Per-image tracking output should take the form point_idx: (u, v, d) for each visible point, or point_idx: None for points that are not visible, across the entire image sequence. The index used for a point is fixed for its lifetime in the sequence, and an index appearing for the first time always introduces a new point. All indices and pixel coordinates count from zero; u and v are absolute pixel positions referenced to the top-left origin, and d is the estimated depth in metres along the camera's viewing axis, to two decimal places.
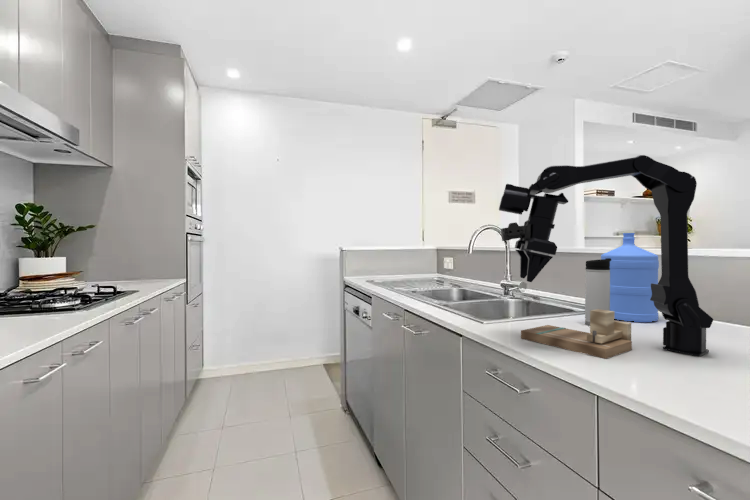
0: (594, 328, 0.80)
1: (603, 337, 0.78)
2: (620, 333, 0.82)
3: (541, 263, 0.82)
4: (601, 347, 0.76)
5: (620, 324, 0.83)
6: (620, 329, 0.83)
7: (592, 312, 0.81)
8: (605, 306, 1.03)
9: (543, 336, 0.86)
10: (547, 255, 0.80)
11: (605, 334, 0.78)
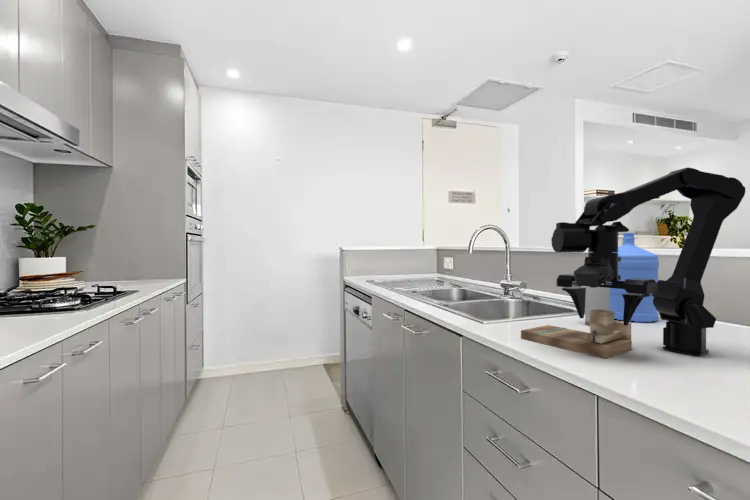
0: (594, 328, 0.80)
1: (603, 337, 0.78)
2: (620, 333, 0.82)
3: (636, 303, 0.76)
4: (601, 347, 0.76)
5: (620, 324, 0.83)
6: (620, 329, 0.83)
7: (592, 312, 0.81)
8: (605, 306, 1.03)
9: (543, 336, 0.86)
10: (648, 294, 0.75)
11: (605, 334, 0.78)
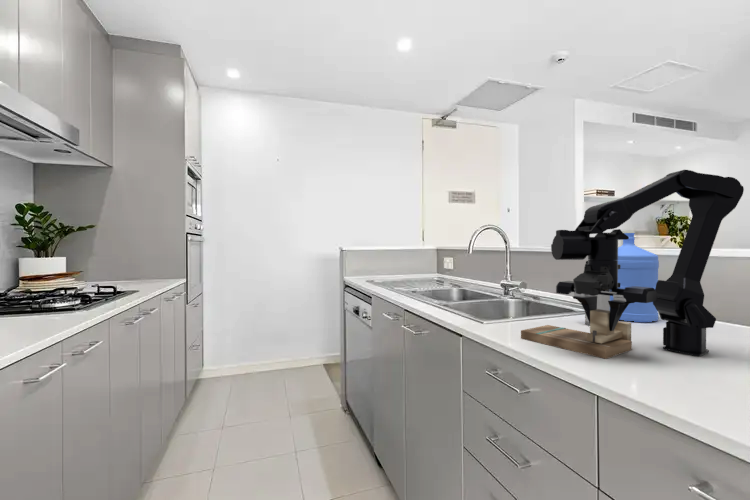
0: (594, 328, 0.80)
1: (603, 337, 0.78)
2: (620, 333, 0.82)
3: (622, 309, 0.78)
4: (601, 347, 0.76)
5: (620, 324, 0.83)
6: (620, 329, 0.83)
7: (592, 312, 0.81)
8: (605, 306, 1.03)
9: (543, 336, 0.86)
10: None
11: (605, 334, 0.78)
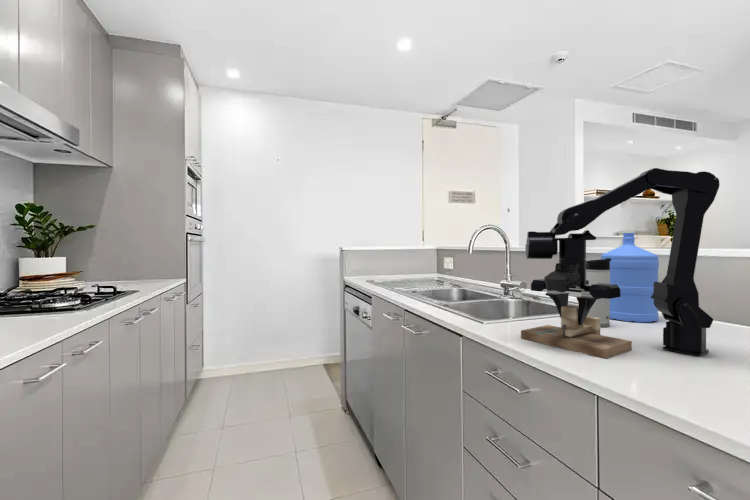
0: (564, 323, 0.86)
1: (572, 331, 0.84)
2: (589, 327, 0.88)
3: (590, 305, 0.84)
4: (601, 347, 0.76)
5: (590, 319, 0.89)
6: (590, 324, 0.89)
7: (563, 308, 0.86)
8: (605, 306, 1.03)
9: (543, 336, 0.86)
10: None
11: (574, 328, 0.84)
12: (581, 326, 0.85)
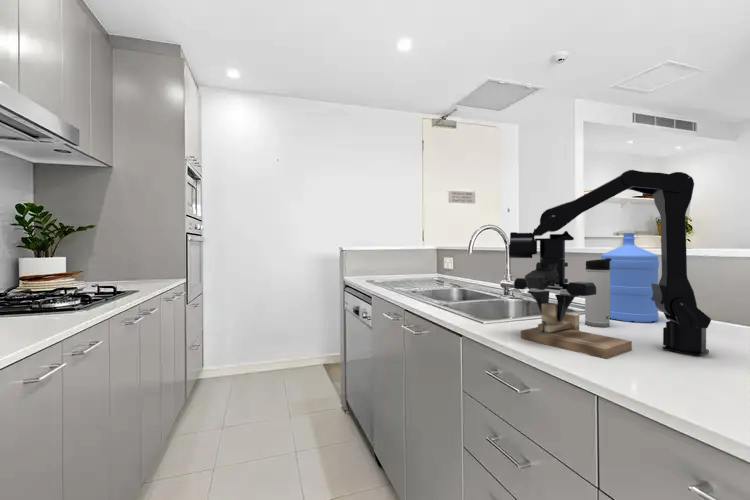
0: (545, 319, 0.90)
1: (552, 327, 0.88)
2: (569, 324, 0.92)
3: (568, 302, 0.88)
4: (601, 347, 0.76)
5: (569, 316, 0.93)
6: (569, 320, 0.93)
7: (543, 305, 0.90)
8: (605, 306, 1.03)
9: (543, 336, 0.86)
10: (577, 294, 0.87)
11: (553, 324, 0.88)
12: (560, 322, 0.89)
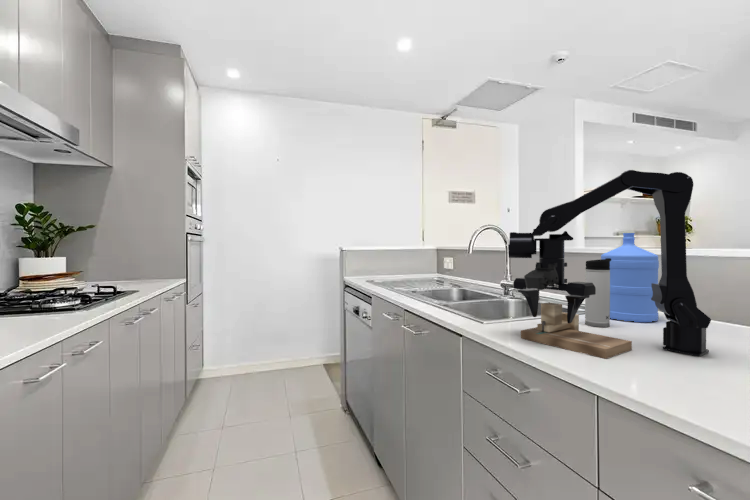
0: (544, 319, 0.90)
1: (551, 326, 0.88)
2: (568, 324, 0.92)
3: (578, 303, 0.86)
4: (601, 347, 0.76)
5: None
6: None
7: (542, 305, 0.91)
8: (605, 306, 1.03)
9: (543, 336, 0.86)
10: (587, 295, 0.85)
11: (553, 324, 0.88)
12: (560, 322, 0.90)
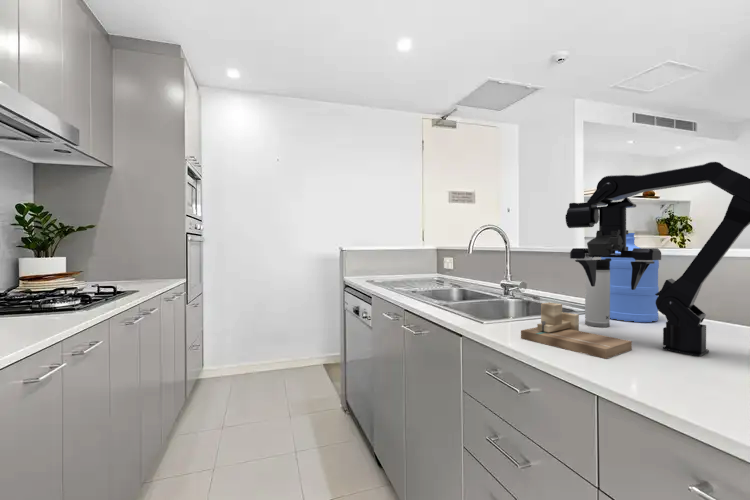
0: (544, 319, 0.90)
1: (551, 326, 0.88)
2: (568, 324, 0.92)
3: (643, 269, 0.86)
4: (601, 347, 0.76)
5: (569, 316, 0.93)
6: (569, 320, 0.93)
7: (542, 305, 0.91)
8: (605, 306, 1.03)
9: (543, 336, 0.86)
10: (652, 261, 0.85)
11: (553, 324, 0.88)
12: (560, 322, 0.90)
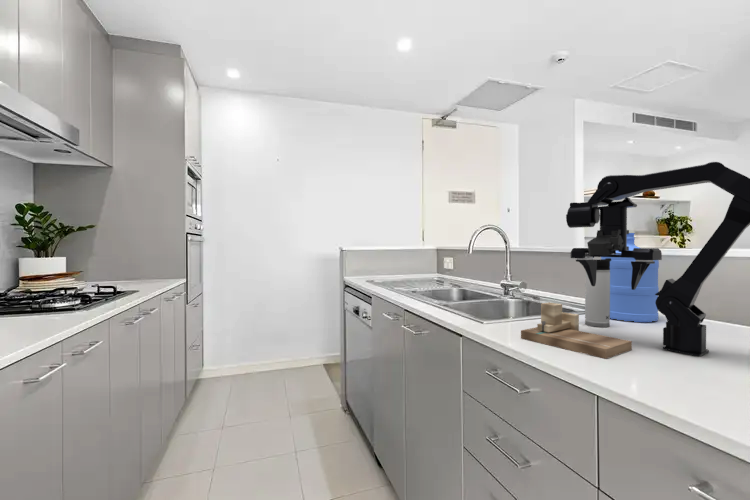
0: (544, 319, 0.90)
1: (551, 326, 0.88)
2: (568, 324, 0.92)
3: (643, 269, 0.86)
4: (601, 347, 0.76)
5: (569, 316, 0.93)
6: (569, 320, 0.93)
7: (542, 305, 0.91)
8: (605, 306, 1.03)
9: (543, 336, 0.86)
10: (653, 261, 0.85)
11: (553, 324, 0.88)
12: (560, 322, 0.90)
